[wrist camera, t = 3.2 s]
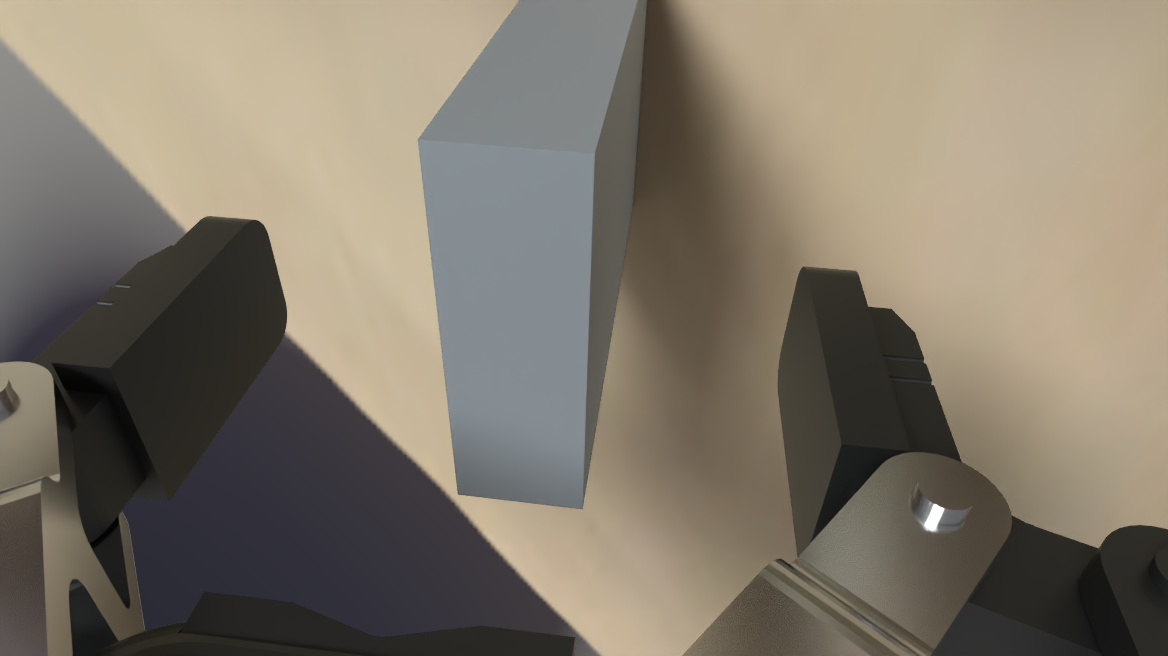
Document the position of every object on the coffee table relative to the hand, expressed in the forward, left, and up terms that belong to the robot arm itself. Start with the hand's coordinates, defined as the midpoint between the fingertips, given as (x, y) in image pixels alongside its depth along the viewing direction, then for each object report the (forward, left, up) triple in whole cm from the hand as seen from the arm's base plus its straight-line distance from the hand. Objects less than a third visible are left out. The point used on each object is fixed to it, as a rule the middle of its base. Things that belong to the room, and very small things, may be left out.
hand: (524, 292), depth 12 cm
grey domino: (0, 0, -8) cm, 8 cm away
